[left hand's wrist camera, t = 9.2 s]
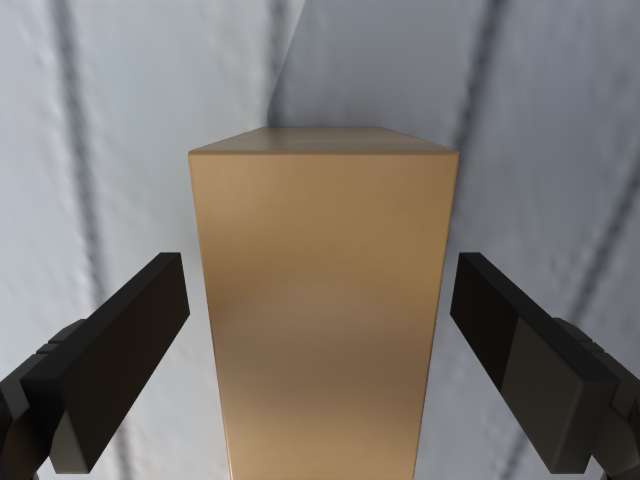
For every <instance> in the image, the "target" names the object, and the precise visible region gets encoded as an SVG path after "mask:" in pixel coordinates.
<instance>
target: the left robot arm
mask: <svg viewBox="0 0 640 480" xmlns="http://www.w3.org/2000/svg"><path fill="white" fill-rule="evenodd" d="M189 315H190V310H189V304H188V298H187V291H186V285H185V278H184V272H183V266H182V259H181V253H180V252H160V253H159V254H158V255H157V256H156V257H155V258H154V259H153V260H152V261H150V262H149V263H148V264H147V265H146V266H145V267H144V268H143V269H142V270H140V271H139V272H138V273H137V274H136V275H135V276H134V277H133V278H132V279H130V280H129V281H128V282H127V283H126V284H125V285H124V286H123V287H122V288H120V289H119V290H118V291H117V292H116V293H115V294H114V295H113V296H112V297H110V298H109V299H108V300H107V301H106V302H105V303H104V304H103V305H102V306H100V307H99V308H98V309H97V310H96V311H95V312H94V313H93V314H92V315H90V316H89V317H88V318H87V319H80V320H78V321H76V322H75V323H73V324H71V325H69V326H67V327H65V328H64V329H62V330H61V331H60V332H58V333H57V334H56V335H55V336H54V337H53V338H51V339H50V340H49V341H48V344H44V345H43V346H42V347H41V348H40V349H38V350H37V351H36V354H33V355H31V356H30V357H29V358H28V359H27V360H26V361H24V362H23V363H22V364H21V365H20V366H19V367H17V368H16V369H15V370H14V371H13V372H12V373H10V374H9V375H8V376H7V377H6V378H5V379H3V380H2V381H1V382H0V480H39V477H38V475H37V472H36V471H37V470H38V469H39V468H40V466H41V465H42V464H43V463H44V461H45V460H46V459H47V457H48V456H49V457H50V460H51V462H52V465H53V467H54V470H55V472H56V474H89V473H90V471H91V470H92V468H93V467H94V465H95V464H96V462H97V460H98V459H99V457H100V456H101V454H102V453H103V451H104V449H105V448H106V446H107V445H108V443H109V441H110V440H111V438H112V437H113V435H114V434H115V432H116V430H117V429H118V427H119V426H120V424H121V423H122V421H123V419H124V418H125V416H126V415H127V413H128V411H129V410H130V408H131V407H132V405H133V404H134V402H135V400H136V399H137V397H138V396H139V394H140V392H141V391H142V389H143V388H144V386H145V385H146V383H147V381H148V380H149V378H150V377H151V375H152V374H153V372H154V370H155V369H156V367H157V366H158V364H159V362H160V361H161V359H162V358H163V356H164V355H165V353H166V351H167V350H168V348H169V347H170V345H171V344H172V342H173V340H174V339H175V337H176V336H177V334H178V332H179V331H180V329H181V328H182V326H183V325H184V323H185V321H186V320H187V318H188V317H189ZM450 315H451V317H452V318H453V320H454V321H455V323H456V325H457V326H458V328H459V329H460V331H461V332H462V334H463V336H464V337H465V339H466V340H467V342H468V344H469V345H470V347H471V348H472V350H473V351H474V353H475V355H476V356H477V358H478V359H479V361H480V362H481V364H482V366H483V367H484V369H485V370H486V372H487V374H488V375H489V377H490V378H491V380H492V381H493V383H494V385H495V386H496V388H497V389H498V391H499V393H500V394H501V396H502V397H503V399H504V400H505V402H506V404H507V405H508V407H509V408H510V410H511V411H512V413H513V415H514V416H515V418H516V419H517V421H518V423H519V424H520V426H521V427H522V429H523V430H524V432H525V434H526V435H527V437H528V438H529V440H530V441H531V443H532V445H533V446H534V448H535V449H536V451H537V453H538V454H539V456H540V457H541V459H542V460H543V462H544V464H545V465H546V467H547V468H548V470H549V471H550V473H551V474H584V472H585V470H586V467H587V465H588V462H589V460H590V457H591V455H593V457H594V458H595V459H596V461H597V462H598V463H599V464H600V466H601V467H602V468H603V469H604V472H603V475H602V477H601V479H600V480H640V380H639V379H638V378H636V377H635V376H634V375H633V374H632V373H631V372H629V371H628V370H627V369H626V368H625V367H624V366H622V365H621V364H620V363H619V362H618V361H616V360H615V359H614V358H613V357H612V356H611V355H609V354H608V353H605V352H604V350H603V349H602V348H601V347H600V346H599V345H598V344H596V343H593V342H592V339H591V338H589V337H588V336H587V335H586V334H585V333H583V332H582V331H581V330H580V329H579V328H577V327H575V326H574V325H572V324H570V323H568V322H566V321H564V320H562V319H561V318H552V317H551V316H550V315H548V314H547V313H546V312H545V311H544V310H543V309H542V308H541V307H540V306H538V305H537V304H536V303H535V302H534V301H533V300H532V299H531V298H530V297H528V296H527V295H526V294H525V293H524V292H523V291H522V290H521V289H520V288H518V287H517V286H516V285H515V284H514V283H513V282H512V281H511V280H510V279H508V278H507V277H506V276H505V275H504V274H503V273H502V272H501V271H500V270H498V269H497V268H496V267H495V266H494V265H493V264H492V263H491V262H490V261H488V260H487V259H486V258H485V257H484V256H483V255H482V254H481V253H480V252H460V253H459V259H458V266H457V272H456V278H455V285H454V291H453V298H452V304H451V310H450Z"/></svg>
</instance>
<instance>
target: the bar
mask: <svg viewBox="0 0 640 480" xmlns="http://www.w3.org/2000/svg"><path fill="white" fill-rule="evenodd" d="M459 157H460V154H459V152H458V151H456V150H453V149H449V148H446V147H443V146H440V145H436V144H433V143H430V142H427V141H423V140H420V139H417V138H414V137H410V136H407V135H404V134H401V133H397V132H394V131H391V130H388V129H384V128H324V127H262V128H259V129H255V130H252V131H249V132H246V133H243V134H240V135H237V136H234V137H231V138H228V139H225V140H222V141H218V142H215V143H212V144H209V145H206V146H203V147H200V148H197V149H194V150H191V151H189V152H188V161H189V168H190V176H191V183H192V191H193V198H194V206H195V213H196V221H197V228H198V236H199V243H200V251H201V259H202V266H203V274H204V281H205V289H206V296H207V304H208V311H209V319H210V326H211V334H212V341H213V349H214V356H215V364H216V371H217V379H218V386H219V394H220V401H221V409H222V416H223V424H224V432H225V439H226V447H227V454H228V462H229V469H230V477H231V480H413V479H414V472H415V465H416V458H417V451H418V444H419V437H420V430H421V423H422V416H423V409H424V402H425V395H426V388H427V381H428V374H429V367H430V360H431V353H432V346H433V339H434V332H435V325H436V318H437V311H438V304H439V297H440V290H441V283H442V276H443V269H444V262H445V255H446V248H447V241H448V234H449V227H450V220H451V213H452V206H453V199H454V192H455V185H456V178H457V171H458V164H459Z"/></svg>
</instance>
